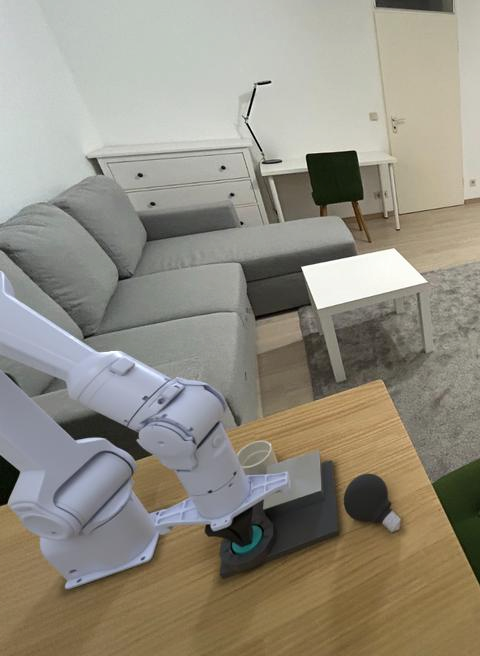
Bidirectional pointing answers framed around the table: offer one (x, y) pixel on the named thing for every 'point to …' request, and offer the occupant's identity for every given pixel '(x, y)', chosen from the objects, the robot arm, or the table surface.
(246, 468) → the bowl
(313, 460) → the plate
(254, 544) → the tare button
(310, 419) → the table surface
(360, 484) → the light bulb
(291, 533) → the scale
